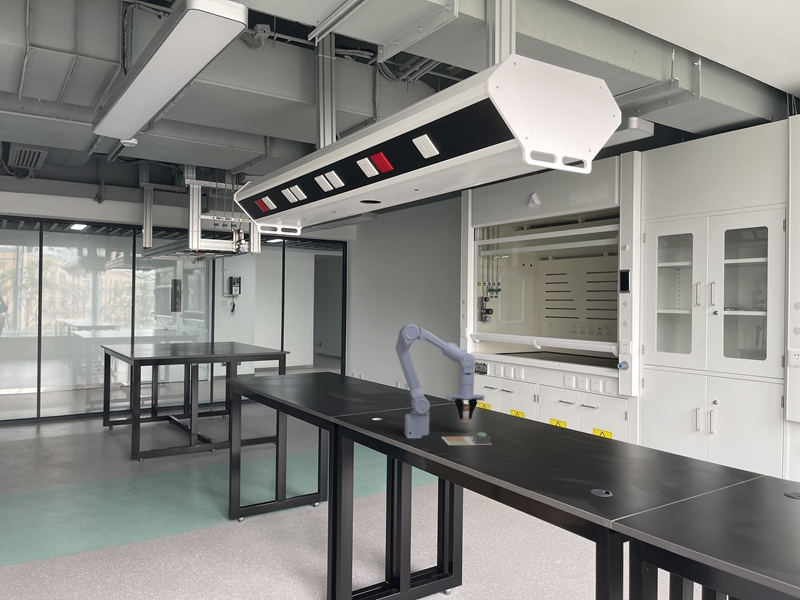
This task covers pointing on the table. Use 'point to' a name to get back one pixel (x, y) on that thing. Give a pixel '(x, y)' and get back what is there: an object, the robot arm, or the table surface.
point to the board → (460, 441)
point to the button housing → (481, 439)
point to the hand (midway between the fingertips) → (465, 418)
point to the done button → (481, 434)
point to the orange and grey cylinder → (465, 414)
